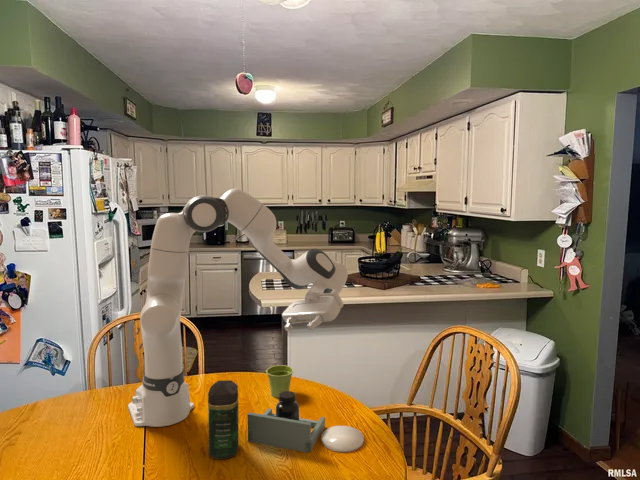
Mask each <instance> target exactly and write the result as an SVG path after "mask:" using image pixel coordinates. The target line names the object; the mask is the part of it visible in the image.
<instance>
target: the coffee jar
mask: <svg viewBox="0 0 640 480" xmlns="http://www.w3.org/2000/svg"><path fill="white" fill-rule="evenodd" d="M207 397H208V398H207V403H208V405H207V407H208V408H207V410H208V411H207V412H208V413H207V414H208V455H209V457H211V458H212V459H217V460H226V459H230V458H232V457H234V456H236V454H237V453H238V449H239V419H240V418H239V412H240V411H239V386H238V384H237V383H236V382H234V381H233V380H230V379H229V380H217V381H216V382H214V383H213V384H212V385H211V386H210V388H209V391H208V394H207Z"/></svg>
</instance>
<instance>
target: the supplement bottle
mask: <svg viewBox="0 0 640 480" xmlns="http://www.w3.org/2000/svg"><path fill="white" fill-rule="evenodd" d="M275 414H276V417H280V418H286V419H292V420H298V421H299V418H300V404H299V403H298V402H297V397H296V393H295V392H294V391H292V390H291V391H290V390H289V391H284V392H281V393H280V394H279V398H278V402H277V403H276V406H275Z"/></svg>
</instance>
